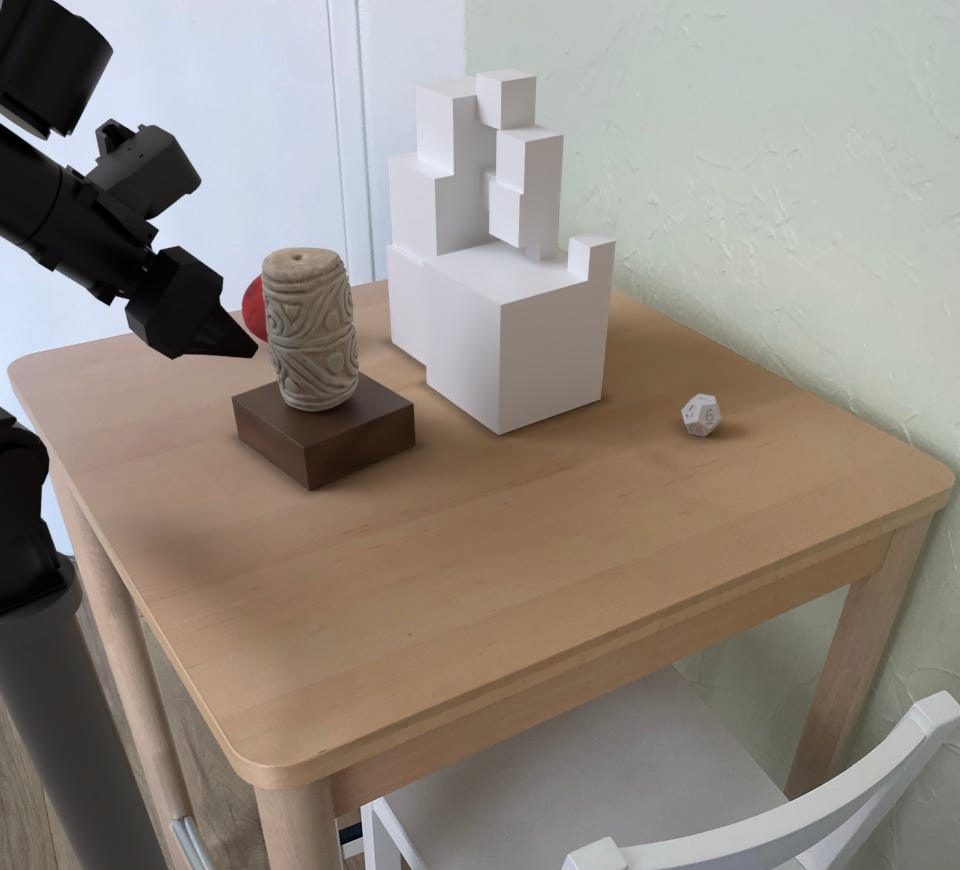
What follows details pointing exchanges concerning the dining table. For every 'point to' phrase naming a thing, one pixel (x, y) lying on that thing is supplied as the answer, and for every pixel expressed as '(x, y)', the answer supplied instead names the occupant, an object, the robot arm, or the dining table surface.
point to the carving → (310, 327)
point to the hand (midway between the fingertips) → (227, 330)
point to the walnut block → (325, 431)
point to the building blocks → (494, 257)
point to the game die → (701, 415)
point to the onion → (255, 309)
